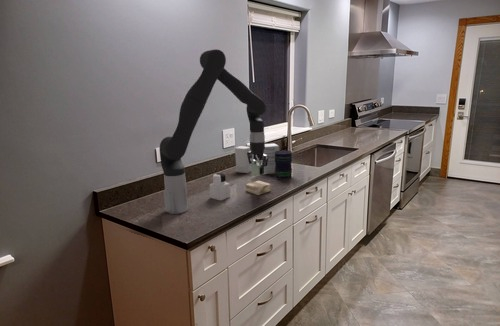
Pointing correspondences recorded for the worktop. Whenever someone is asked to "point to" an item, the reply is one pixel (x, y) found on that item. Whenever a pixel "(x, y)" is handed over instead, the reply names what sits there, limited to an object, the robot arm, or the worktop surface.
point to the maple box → (258, 187)
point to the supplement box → (270, 157)
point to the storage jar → (283, 164)
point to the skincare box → (242, 159)
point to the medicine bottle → (219, 187)
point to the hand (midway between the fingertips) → (258, 173)
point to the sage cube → (256, 169)
